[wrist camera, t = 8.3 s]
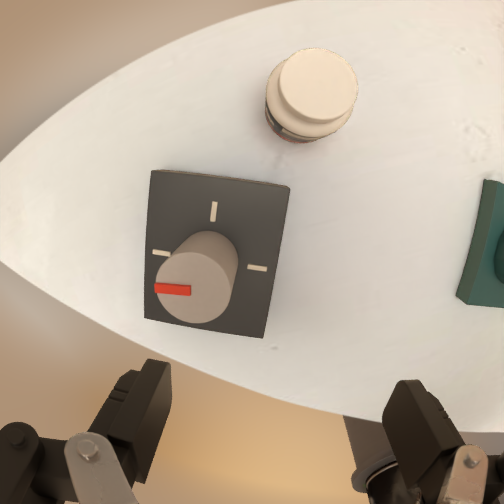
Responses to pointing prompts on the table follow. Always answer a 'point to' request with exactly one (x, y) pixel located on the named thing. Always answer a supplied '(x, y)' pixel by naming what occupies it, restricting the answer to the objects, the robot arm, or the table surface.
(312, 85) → the pill bottle
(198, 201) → the dial panel
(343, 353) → the table surface
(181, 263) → the program dial
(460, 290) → the button block
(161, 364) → the robot arm
